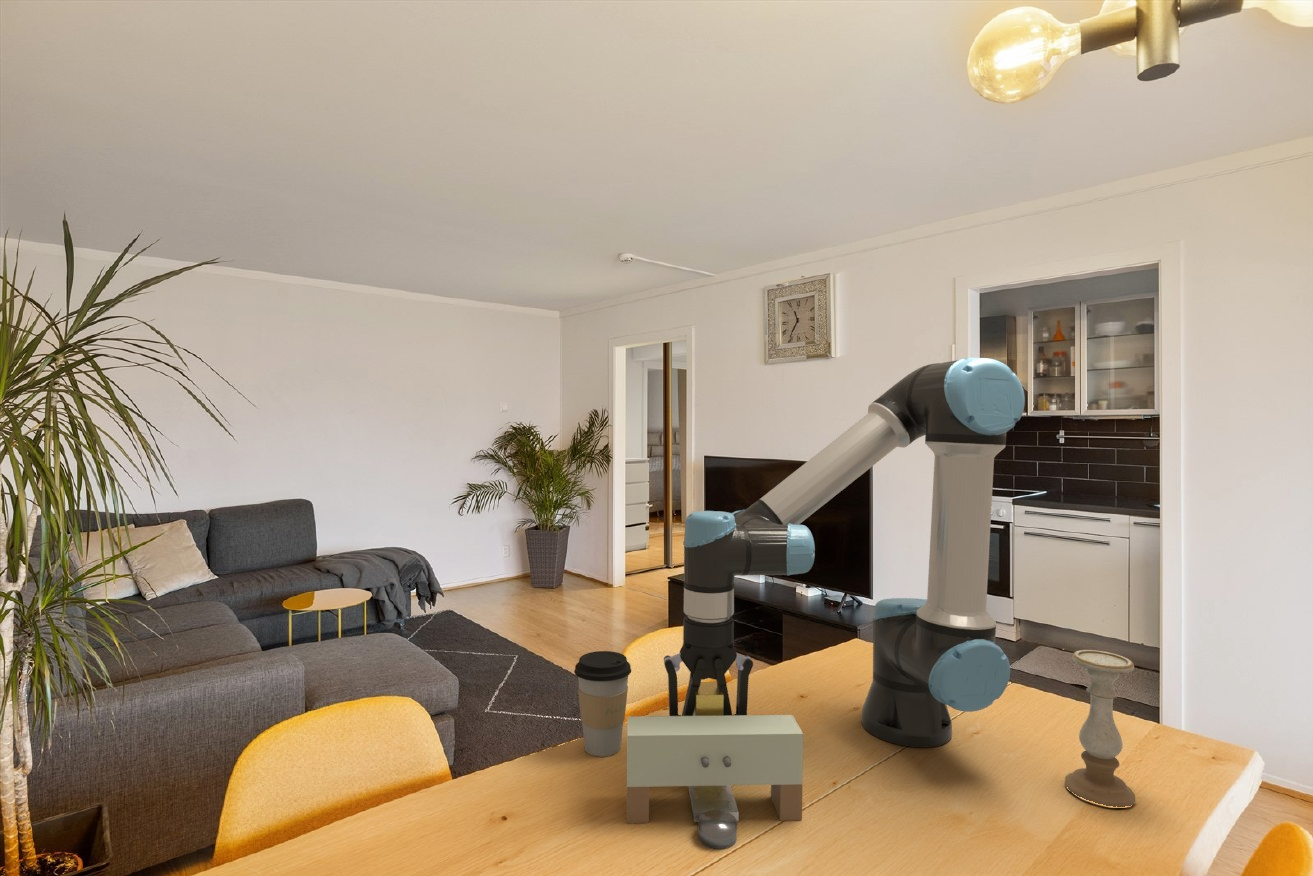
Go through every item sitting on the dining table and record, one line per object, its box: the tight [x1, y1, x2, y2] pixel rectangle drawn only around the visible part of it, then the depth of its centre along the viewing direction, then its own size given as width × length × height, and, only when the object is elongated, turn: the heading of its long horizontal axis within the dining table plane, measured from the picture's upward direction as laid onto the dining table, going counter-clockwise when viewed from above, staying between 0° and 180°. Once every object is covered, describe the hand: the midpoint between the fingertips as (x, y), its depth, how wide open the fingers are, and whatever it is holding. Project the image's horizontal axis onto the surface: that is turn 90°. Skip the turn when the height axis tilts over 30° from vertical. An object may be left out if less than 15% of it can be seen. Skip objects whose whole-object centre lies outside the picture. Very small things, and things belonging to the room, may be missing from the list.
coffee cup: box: [573, 650, 632, 758], centre depth 114 cm, size 9×9×15 cm
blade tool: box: [687, 681, 740, 823], centre depth 99 cm, size 6×13×14 cm, turn 3°
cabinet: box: [626, 714, 804, 824], centre depth 96 cm, size 24×7×12 cm, turn 93°
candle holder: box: [1064, 649, 1136, 807], centre depth 101 cm, size 9×9×20 cm
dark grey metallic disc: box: [697, 810, 738, 851], centre depth 90 cm, size 5×5×2 cm
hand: (707, 769), depth 103 cm, fingers closed on blade tool, 4 cm apart
